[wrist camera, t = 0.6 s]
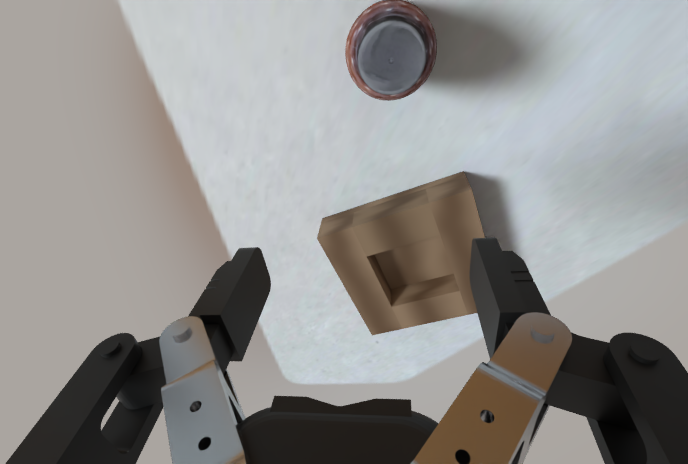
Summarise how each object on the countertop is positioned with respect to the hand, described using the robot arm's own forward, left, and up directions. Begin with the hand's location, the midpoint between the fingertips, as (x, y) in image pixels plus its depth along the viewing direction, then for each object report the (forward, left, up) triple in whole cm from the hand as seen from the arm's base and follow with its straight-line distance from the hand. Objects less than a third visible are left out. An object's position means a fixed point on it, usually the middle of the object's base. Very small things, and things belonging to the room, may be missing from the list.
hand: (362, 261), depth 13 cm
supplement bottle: (-3, -4, -24) cm, 24 cm away
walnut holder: (+2, +18, -23) cm, 29 cm away
